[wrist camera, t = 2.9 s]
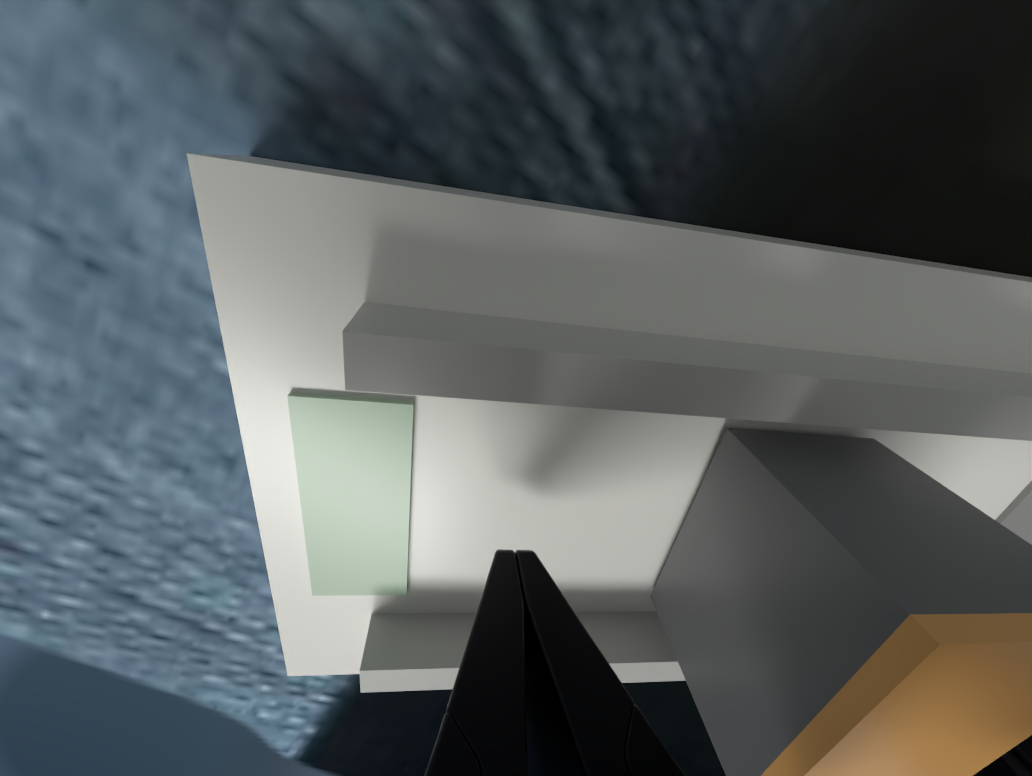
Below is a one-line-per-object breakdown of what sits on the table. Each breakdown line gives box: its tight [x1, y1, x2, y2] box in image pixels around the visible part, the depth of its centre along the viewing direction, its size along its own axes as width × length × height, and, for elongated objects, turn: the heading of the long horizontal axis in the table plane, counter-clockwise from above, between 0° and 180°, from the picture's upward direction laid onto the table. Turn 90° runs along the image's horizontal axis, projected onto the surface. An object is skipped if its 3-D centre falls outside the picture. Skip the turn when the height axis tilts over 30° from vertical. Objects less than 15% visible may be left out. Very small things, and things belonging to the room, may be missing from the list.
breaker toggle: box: [650, 428, 1032, 776], centre depth 9 cm, size 4×6×5 cm, turn 172°
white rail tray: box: [187, 153, 1032, 692], centre depth 12 cm, size 24×14×4 cm, turn 82°
